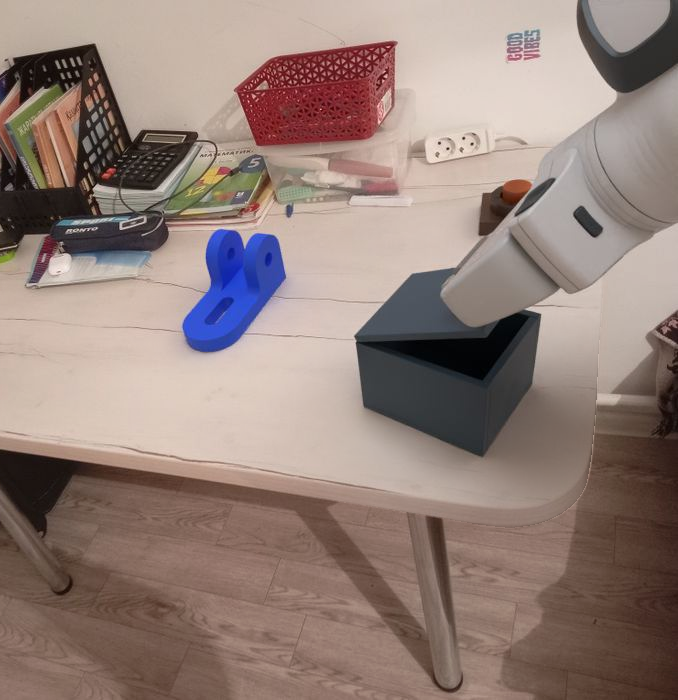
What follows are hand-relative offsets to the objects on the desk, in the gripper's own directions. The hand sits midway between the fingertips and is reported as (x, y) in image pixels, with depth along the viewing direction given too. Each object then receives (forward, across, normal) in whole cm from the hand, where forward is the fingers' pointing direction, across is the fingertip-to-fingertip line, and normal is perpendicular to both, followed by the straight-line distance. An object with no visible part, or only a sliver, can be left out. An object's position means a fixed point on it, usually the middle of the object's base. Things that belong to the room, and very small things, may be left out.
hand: (467, 270), depth 56 cm
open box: (+14, 0, +11) cm, 18 cm away
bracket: (+37, -1, -12) cm, 39 cm away
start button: (+17, -35, +3) cm, 39 cm away
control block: (+19, -35, +5) cm, 41 cm away
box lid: (+5, 0, +2) cm, 5 cm away
